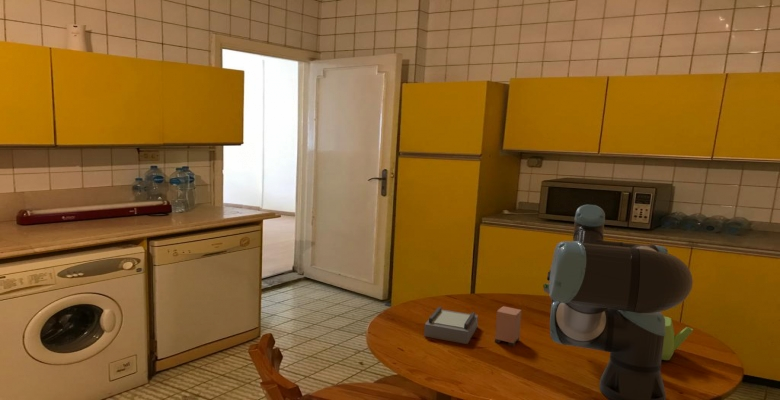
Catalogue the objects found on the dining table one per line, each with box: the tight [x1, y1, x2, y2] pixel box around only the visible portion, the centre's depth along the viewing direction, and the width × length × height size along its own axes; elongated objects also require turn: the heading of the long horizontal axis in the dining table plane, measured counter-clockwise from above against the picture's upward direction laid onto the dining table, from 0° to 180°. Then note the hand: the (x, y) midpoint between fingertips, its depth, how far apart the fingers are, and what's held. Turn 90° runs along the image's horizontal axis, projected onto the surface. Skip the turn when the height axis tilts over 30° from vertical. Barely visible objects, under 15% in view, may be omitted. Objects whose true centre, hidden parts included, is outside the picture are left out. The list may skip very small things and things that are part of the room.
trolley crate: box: [494, 305, 522, 347], centre depth 159 cm, size 6×6×10 cm
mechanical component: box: [542, 282, 554, 308], centre depth 193 cm, size 3×10×10 cm, turn 115°
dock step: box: [423, 306, 479, 345], centre depth 166 cm, size 16×14×6 cm
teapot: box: [662, 315, 694, 361], centre depth 154 cm, size 18×20×13 cm
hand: (580, 296), depth 158 cm, fingers open, 13 cm apart
